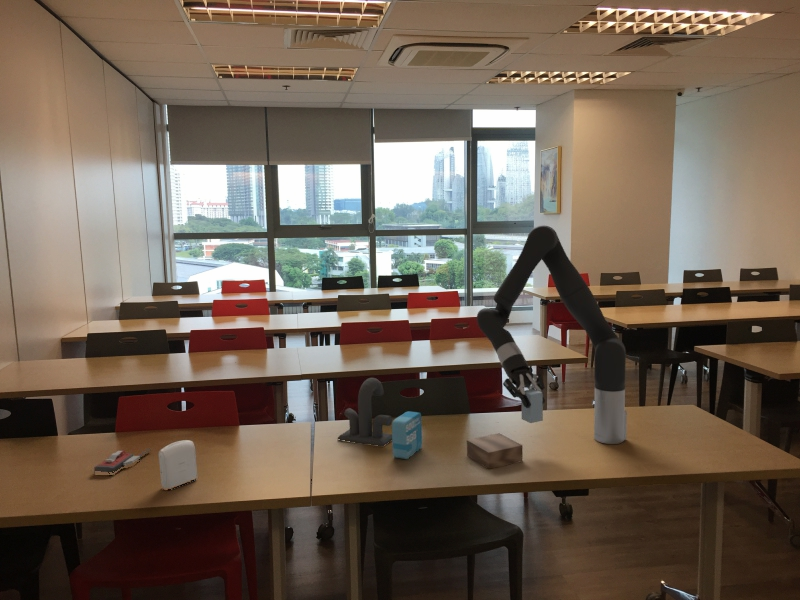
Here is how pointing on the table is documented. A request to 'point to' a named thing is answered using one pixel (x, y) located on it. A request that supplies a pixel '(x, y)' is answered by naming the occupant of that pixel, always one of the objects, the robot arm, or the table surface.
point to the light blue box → (406, 434)
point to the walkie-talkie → (117, 461)
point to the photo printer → (177, 463)
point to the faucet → (367, 418)
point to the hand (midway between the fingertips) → (535, 405)
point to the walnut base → (494, 450)
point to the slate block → (533, 406)
